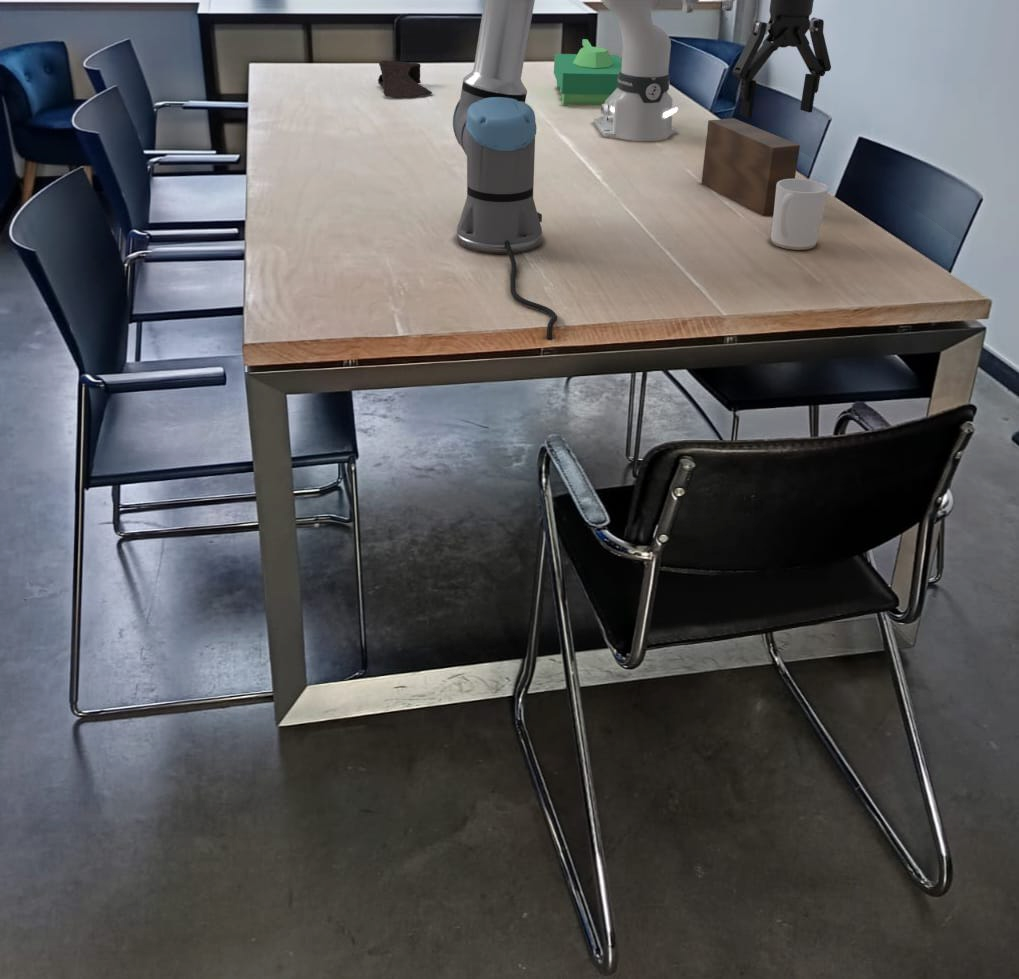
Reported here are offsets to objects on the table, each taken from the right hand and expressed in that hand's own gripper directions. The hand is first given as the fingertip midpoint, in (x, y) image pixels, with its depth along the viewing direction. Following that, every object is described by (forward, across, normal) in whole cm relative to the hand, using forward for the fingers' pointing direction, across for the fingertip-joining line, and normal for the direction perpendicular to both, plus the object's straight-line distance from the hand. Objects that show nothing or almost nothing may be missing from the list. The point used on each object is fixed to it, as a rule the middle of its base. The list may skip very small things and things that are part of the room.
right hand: (707, 11), depth 224 cm
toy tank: (+32, -11, -74) cm, 81 cm away
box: (+32, +2, +24) cm, 40 cm away
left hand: (+14, +2, +31) cm, 34 cm away
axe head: (+32, +36, -92) cm, 104 cm away
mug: (+32, +10, +51) cm, 61 cm away
